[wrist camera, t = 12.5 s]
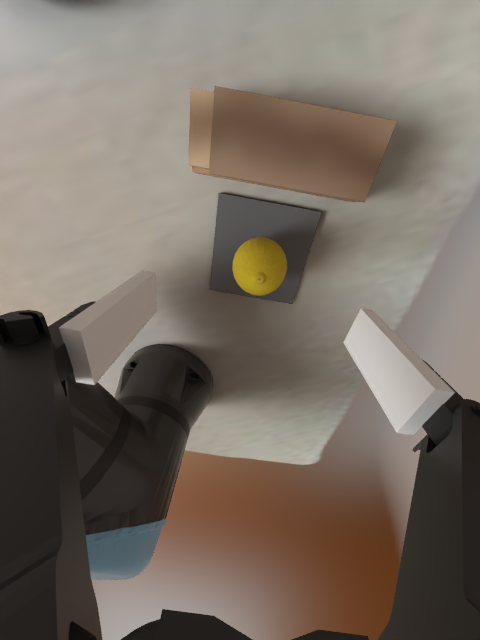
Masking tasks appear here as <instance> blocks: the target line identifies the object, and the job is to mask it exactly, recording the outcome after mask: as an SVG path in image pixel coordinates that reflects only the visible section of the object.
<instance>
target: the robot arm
mask: <svg viewBox="0 0 480 640" xmlns="http://www.w3.org/2000/svg"><path fill="white" fill-rule="evenodd" d="M156 311H157V308H156V284H155V273H154V272H149V271H141V272H140V273H138V274H137V275H135V276H134V277H132V278H131V279H129V280H128V281H126V282H125V283H124V284H122V285H121V286H119V287H118V288H116V289H115V290H113V291H112V292H110V293H109V294H107V295H106V296H104V297H103V298H101V299H100V300H98V301H97V302H90V303H87V304H84V305H81V306H80V307H78V308H77V309H75V310H74V311H73V312H70V313H69V314H67V316H64V317H63V318H61V319H60V320H58V321H56V322H55V323H53V324H52V325H50V326H49V327H48V326H47V324H46V321H45V318H44V315H43V314H42V313H40V312H38V311H31V310H25V311H16V312H10V313H7V314H4V315H1V316H0V640H102V634H101V626H100V620H99V612H98V607H97V602H96V597H95V593H94V589H93V586H92V581H91V579H95V580H122V579H130V578H133V577H135V576H137V575H139V574H140V573H141V572H142V571H143V570H144V569H145V568H146V567H147V565H148V563H149V562H150V560H151V558H152V556H153V553H154V550H155V547H156V544H157V541H158V538H159V535H160V532H161V529H162V526H164V525H165V522H166V516H167V512H168V509H169V505H170V501H171V498H172V494H173V490H174V487H175V483H176V479H177V476H178V472H179V468H180V465H181V461H182V457H183V454H184V450H185V446H186V443H187V439H188V436H189V432H190V429H191V428H192V426H193V425H194V423H195V422H196V420H197V419H198V417H199V416H200V414H201V413H202V412H203V410H204V409H205V407H206V406H207V404H208V402H209V400H210V397H211V392H212V388H213V380H212V376H211V373H210V371H209V370H208V368H207V367H206V365H205V364H204V363H203V362H202V361H201V360H200V359H198V358H197V357H196V356H194V355H193V354H191V353H189V352H187V351H185V350H183V349H180V348H177V347H173V346H167V345H153V346H148V347H144V348H142V349H140V350H138V351H137V352H135V353H134V354H133V355H132V357H131V358H130V359H129V360H128V362H127V363H126V364H125V366H124V368H123V370H122V373H121V376H120V380H119V383H118V387H117V391H116V394H115V398H114V397H113V396H112V395H111V394H110V393H109V392H108V391H107V390H105V389H104V388H103V387H102V386H101V385H100V384H99V383H98V380H99V379H100V378H101V377H102V376H103V374H104V373H105V372H106V371H107V370H108V368H109V367H110V366H111V365H112V364H113V363H114V361H115V360H116V359H117V358H118V357H119V355H120V354H121V353H122V352H123V351H124V349H125V348H126V347H127V346H128V345H129V344H130V342H131V341H132V340H133V339H134V338H135V336H136V335H137V334H138V333H139V332H140V330H141V329H142V328H143V327H144V326H145V325H146V323H147V322H148V321H149V320H150V319H151V317H152V316H153V315H154V314H155V313H156ZM344 345H345V346H346V348H347V350H348V351H349V353H350V355H351V356H352V358H353V360H354V362H355V363H356V365H357V367H358V368H359V370H360V372H361V373H362V375H363V377H364V378H365V380H366V382H367V384H368V385H369V387H370V388H371V390H372V392H373V394H374V395H375V397H376V399H377V400H378V402H379V404H380V405H381V407H382V408H383V411H384V412H385V414H386V416H387V417H388V419H389V420H390V422H391V424H392V426H393V427H394V429H395V431H396V432H397V433H401V434H407V435H415V433H416V432H417V431H418V430H419V429H420V428H421V427H423V428H424V430H425V431H426V433H427V435H426V436H425V437H424V438H423V440H421V441H420V442H419V443H418V444H417V445H416V446H415V447H414V448H413V451H414V452H416V451H417V450H421V451H420V457H419V462H418V468H417V474H416V479H415V484H414V490H413V496H412V501H411V507H410V513H409V518H408V524H407V530H406V535H405V541H404V546H403V552H402V557H401V563H400V569H399V574H398V580H397V585H396V591H395V597H394V602H393V608H392V613H391V617H390V620H389V622H388V624H387V626H386V627H385V629H384V630H383V632H382V633H381V635H380V637H379V639H378V640H480V403H478V402H476V401H473V400H469V399H463V398H462V397H461V396H460V395H459V394H458V393H457V392H456V391H455V390H454V389H453V388H452V387H451V386H450V385H449V384H448V383H447V382H446V381H445V380H444V379H443V378H440V375H438V373H437V372H435V371H434V369H433V368H432V367H430V365H429V364H427V362H425V361H424V360H422V359H421V358H420V357H419V356H418V355H417V354H416V353H415V352H414V351H412V349H411V348H410V347H409V346H408V345H407V344H406V343H405V342H404V341H403V340H402V339H401V338H400V337H399V336H398V335H397V334H396V333H395V332H394V331H393V330H392V329H391V328H390V327H389V326H388V325H387V324H386V323H385V322H384V321H383V320H382V319H381V318H380V317H379V316H378V315H377V314H376V313H375V312H374V311H373V310H368V309H362V308H360V310H359V312H358V314H357V316H356V318H355V320H354V322H353V324H352V326H351V328H350V330H349V332H348V334H347V337H346V339H345V341H344ZM121 640H252V639H250V638H249V637H247V636H246V635H244V634H242V633H241V632H239V631H237V630H236V629H234V628H233V627H231V626H229V625H228V624H226V623H224V622H223V621H221V620H220V619H218V618H216V617H215V616H210V615H203V614H195V613H187V612H180V611H172V610H165V609H163V610H162V614H161V619H159V620H156V621H153V622H150V623H147V624H145V625H143V626H141V627H139V628H137V629H136V630H134V631H133V632H131V633H130V634H128V635H127V636H125V637H124V638H123V639H121ZM292 640H369V639H368V636H363V635H355V634H347V633H339V632H332V631H324V630H316V631H314V632H311V633H308V634H306V635H303V636H300V637H298V638H295V639H292Z"/></svg>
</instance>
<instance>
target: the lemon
mask: <svg viewBox="0 0 480 640" xmlns="http://www.w3.org/2000/svg"><path fill="white" fill-rule="evenodd" d="M232 269H233V274H234V278H235V280H236V282H237V284H238V285H239V286H240V287H241V288H242V289H243V290H244V291H246V292H247V293H250V294H252V295H258V296H259V295H266V294H269V293H271V292H273V291H275V290H276V289H277V288H278V287H279V286H280V285H281V283H282V282H283V280H284V278H285V275H286V272H287V260H286V256H285V253H284V251H283V250H282V248H281V247H280V246H279V245H278V244H277V243H276V242H275V241H273V240H271V239H269V238H265V237H256V238H252V239H249V240H248V241H246V242H244V243H243V244H242V245H241V246H240V247H239V248H238V250H237V252H236V253H235V256H234V259H233V268H232Z"/></svg>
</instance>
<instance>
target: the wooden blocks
mask: <svg viewBox="0 0 480 640" xmlns="http://www.w3.org/2000/svg"><path fill="white" fill-rule="evenodd" d="M396 123H397V121H394V120H389V119H384V118H378V117H373V116H368V115H363V114H358V113H352V112H347V111H342V110H337V109H332V108H327V107H321V106H316V105H311V104H306V103H301V102H295V101H290V100H285V99H280V98H275V97H269V96H264V95H259V94H254V93H249V92H243V91H238V90H233V89H228V88H223V87H218V86H215V89H214V92H210V91H205V90H200V89H194V88H191V101H190V135H189V165H191V166H192V172H195V173H199V174H204V175H210V176H215V177H221V178H226V179H231V180H237V181H242V182H247V183H253V184H258V185H264V186H269V187H274V188H280V189H285V190H290V191H296V192H301V193H306V194H312V195H317V196H323V197H328V198H333V199H339V200H344V201H350V202H356V201H357V202H365V200H366V197H367V195H368V193H369V190H370V188H371V185H372V183H373V180H374V178H375V175H376V173H377V170H378V168H379V165H380V163H381V160H382V158H383V155H384V153H385V150H386V148H387V145H388V143H389V140H390V138H391V135H392V133H393V130H394V128H395V125H396Z"/></svg>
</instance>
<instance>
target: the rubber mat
mask: <svg viewBox="0 0 480 640" xmlns="http://www.w3.org/2000/svg"><path fill="white" fill-rule="evenodd" d="M320 215H321V212H319V211H314V210H309V209H303V208H298V207H292V206H287V205H282V204H276V203H271V202H265V201H260V200H255V199H249V198H244V197H238V196H233V195H228V194H222V193H219V196H218V207H217V218H216V228H215V239H214V250H213V260H212V271H211V282H210V289H211V290H216V291H222V292H228V293H233V294H239V295H245V296H250V297H256V298H261V299H267V300H273V301H278V302H284V303H289V304H293V300H294V297H295V294H296V291H297V288H298V285H299V282H300V278H301V275H302V272H303V269H304V266H305V263H306V259H307V256H308V253H309V250H310V247H311V244H312V241H313V237H314V234H315V231H316V228H317V225H318V222H319V219H320ZM256 237H265V238H269V239H271V240H273V241H275V242H276V243H277V244H278V245H279V246H280V247H281V248H282V250H283V251H284V253H285V256H286V260H287V272H286V275H285V278H284V280H283V282H282V283H281V285H280V286H279V287H278V288H277V289H276V290H275V291H273V292H271V293H269V294H266V295H259V296H258V295H252V294H250V293H247V292H246V291H244V290H243V289H242V288H241V287H240V286H239V285H238V284H237V282H236V280H235V278H234V274H233V269H232V268H233V259H234V256H235V253H236V252H237V250H238V248H239V247H240V246H241V245H242V244H243V243H244V242H246V241H248V240H249V239H252V238H256Z"/></svg>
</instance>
